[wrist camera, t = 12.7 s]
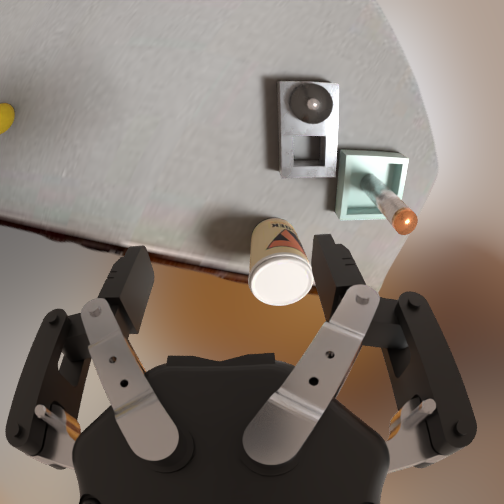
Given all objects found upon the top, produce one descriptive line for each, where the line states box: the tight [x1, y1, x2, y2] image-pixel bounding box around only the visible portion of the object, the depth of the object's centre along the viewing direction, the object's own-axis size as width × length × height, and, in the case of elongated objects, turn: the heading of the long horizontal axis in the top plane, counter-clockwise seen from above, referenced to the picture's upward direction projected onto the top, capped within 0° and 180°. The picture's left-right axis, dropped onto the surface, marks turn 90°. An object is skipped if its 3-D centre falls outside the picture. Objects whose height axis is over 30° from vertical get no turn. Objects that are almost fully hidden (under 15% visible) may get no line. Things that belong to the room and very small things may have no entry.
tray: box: [335, 149, 409, 221], centre depth 42 cm, size 11×11×3 cm
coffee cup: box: [248, 218, 314, 306], centre depth 44 cm, size 9×9×12 cm
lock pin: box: [360, 174, 418, 235], centre depth 37 cm, size 3×3×13 cm
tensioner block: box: [277, 81, 339, 178], centre depth 36 cm, size 14×8×5 cm, turn 3°
